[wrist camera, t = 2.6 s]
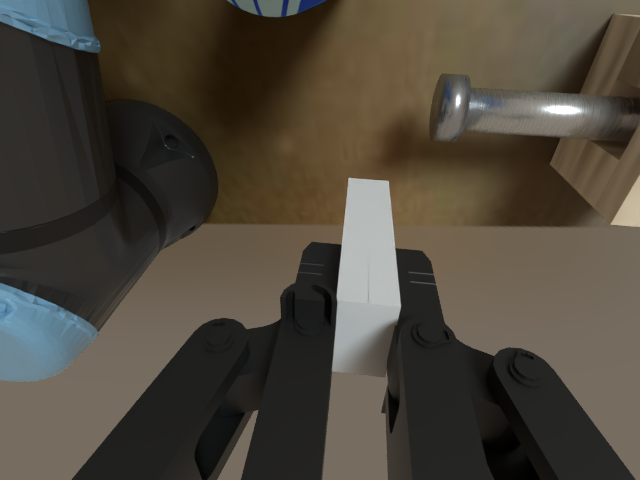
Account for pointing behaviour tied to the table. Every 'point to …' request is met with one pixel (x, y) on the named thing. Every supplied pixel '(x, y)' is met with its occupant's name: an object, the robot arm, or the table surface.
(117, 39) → the table surface
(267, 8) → the beer can
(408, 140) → the table surface
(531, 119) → the pin
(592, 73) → the block
